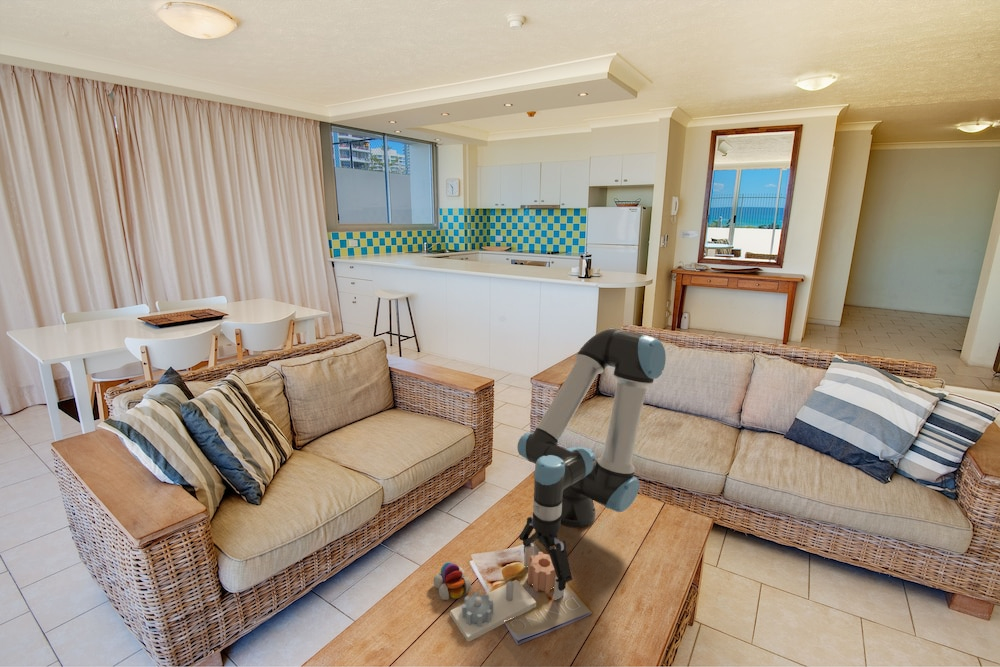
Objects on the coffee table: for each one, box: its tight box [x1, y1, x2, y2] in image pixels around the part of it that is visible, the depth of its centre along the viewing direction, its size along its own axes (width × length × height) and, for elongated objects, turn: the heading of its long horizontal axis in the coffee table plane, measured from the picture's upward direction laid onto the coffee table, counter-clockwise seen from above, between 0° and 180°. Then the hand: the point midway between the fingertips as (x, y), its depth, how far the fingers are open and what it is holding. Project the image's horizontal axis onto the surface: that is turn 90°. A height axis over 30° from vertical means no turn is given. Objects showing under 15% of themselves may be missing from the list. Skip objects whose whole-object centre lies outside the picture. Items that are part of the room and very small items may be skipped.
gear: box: [527, 551, 557, 594], centre depth 130 cm, size 8×8×6 cm
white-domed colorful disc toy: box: [433, 561, 472, 601], centre depth 127 cm, size 8×10×7 cm
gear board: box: [449, 579, 537, 643], centre depth 120 cm, size 9×20×6 cm, turn 123°
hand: (542, 581), depth 131 cm, fingers open, 13 cm apart
